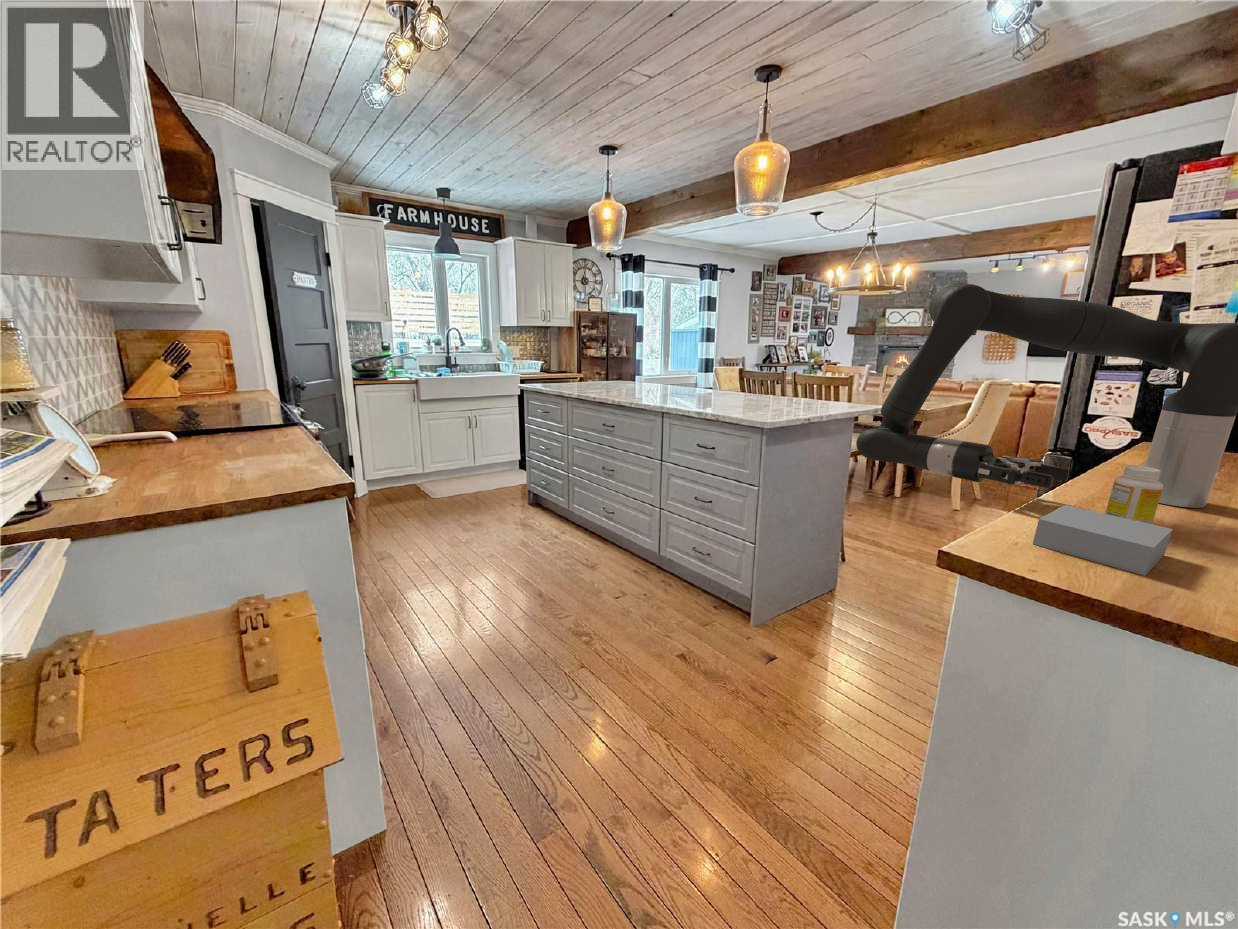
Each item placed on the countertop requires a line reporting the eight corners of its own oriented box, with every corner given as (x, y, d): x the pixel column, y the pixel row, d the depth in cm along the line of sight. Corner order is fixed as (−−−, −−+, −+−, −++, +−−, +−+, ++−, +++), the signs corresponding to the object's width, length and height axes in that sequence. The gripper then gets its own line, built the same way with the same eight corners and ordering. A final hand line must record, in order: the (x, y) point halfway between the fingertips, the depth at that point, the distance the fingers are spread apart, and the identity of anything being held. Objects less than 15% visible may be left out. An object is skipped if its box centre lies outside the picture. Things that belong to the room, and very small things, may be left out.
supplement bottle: (1151, 529, 82) (1170, 469, 79) (1147, 537, 79) (1166, 474, 76) (1105, 519, 86) (1121, 461, 84) (1099, 526, 83) (1116, 466, 80)
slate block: (1059, 528, 82) (1065, 504, 81) (1164, 555, 72) (1173, 529, 71) (1032, 544, 75) (1038, 518, 74) (1144, 576, 65) (1154, 547, 64)
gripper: (946, 444, 96) (1051, 463, 84) (977, 437, 104) (1078, 453, 91) (939, 482, 98) (1041, 505, 85) (970, 472, 106) (1068, 492, 93)
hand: (1060, 478), depth 88 cm, fingers open, 8 cm apart
